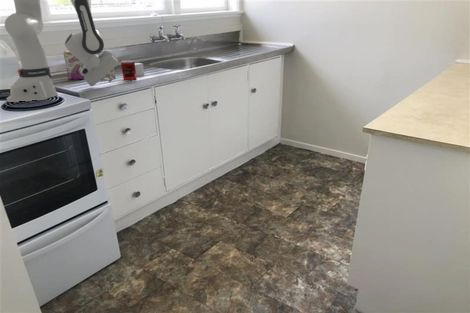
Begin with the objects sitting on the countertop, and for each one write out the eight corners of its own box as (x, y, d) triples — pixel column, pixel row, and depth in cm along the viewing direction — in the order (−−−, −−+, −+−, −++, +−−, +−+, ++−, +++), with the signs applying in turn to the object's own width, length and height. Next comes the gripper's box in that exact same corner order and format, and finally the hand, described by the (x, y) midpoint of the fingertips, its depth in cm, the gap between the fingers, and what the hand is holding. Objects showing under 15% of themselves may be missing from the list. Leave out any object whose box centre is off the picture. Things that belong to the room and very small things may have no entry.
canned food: (131, 78, 218) (129, 59, 213) (139, 79, 213) (137, 60, 209) (120, 80, 212) (117, 61, 208) (128, 81, 208) (126, 62, 203)
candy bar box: (68, 79, 218) (62, 52, 211) (71, 78, 222) (66, 51, 216) (86, 79, 218) (81, 51, 211) (89, 77, 222) (84, 50, 216)
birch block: (106, 79, 215) (104, 67, 213) (101, 78, 219) (99, 66, 216) (115, 77, 220) (113, 66, 217) (110, 76, 223) (108, 65, 220)
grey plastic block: (136, 76, 223) (134, 64, 220) (130, 75, 227) (129, 64, 224) (144, 74, 227) (142, 63, 225) (138, 73, 231) (137, 62, 228)
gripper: (106, 47, 191) (125, 66, 199) (78, 72, 192) (98, 90, 200) (107, 50, 186) (126, 69, 194) (78, 76, 187) (98, 94, 195)
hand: (111, 80), depth 197 cm, fingers closed
